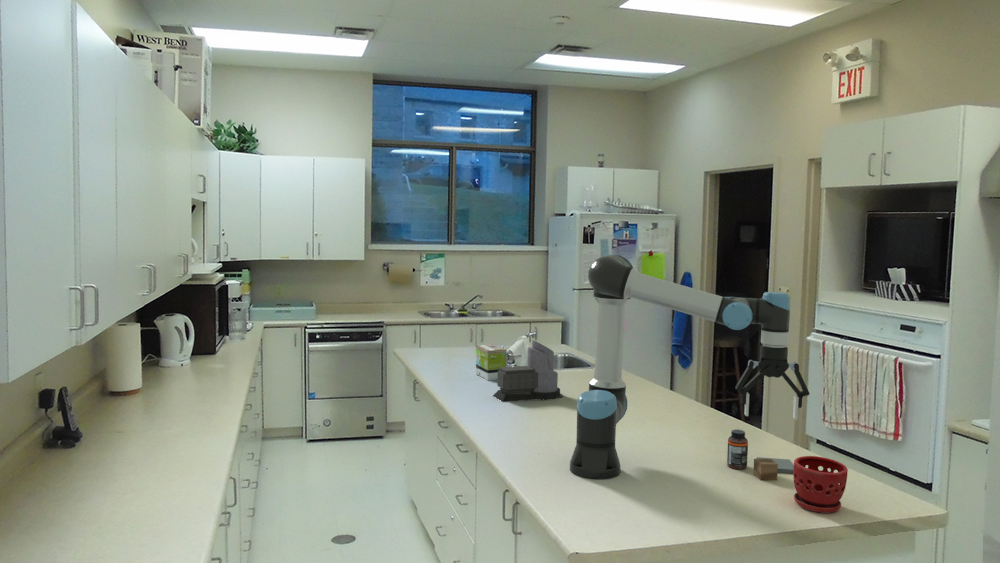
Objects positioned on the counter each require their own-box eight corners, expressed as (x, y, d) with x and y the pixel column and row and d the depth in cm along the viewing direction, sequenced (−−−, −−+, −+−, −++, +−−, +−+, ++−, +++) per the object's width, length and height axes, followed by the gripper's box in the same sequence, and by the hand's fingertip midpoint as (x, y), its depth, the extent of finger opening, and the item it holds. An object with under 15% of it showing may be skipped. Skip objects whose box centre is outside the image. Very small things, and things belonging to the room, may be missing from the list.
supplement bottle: (731, 462, 229) (732, 427, 228) (749, 466, 225) (751, 430, 224) (723, 467, 224) (725, 431, 224) (742, 471, 221) (744, 435, 220)
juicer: (553, 390, 325) (554, 336, 323) (569, 398, 310) (570, 341, 309) (490, 394, 314) (491, 339, 312) (504, 403, 300) (505, 345, 298)
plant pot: (783, 506, 193) (785, 462, 192) (804, 494, 203) (806, 452, 202) (833, 521, 184) (836, 475, 183) (852, 507, 193) (855, 463, 192)
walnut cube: (777, 480, 213) (777, 463, 213) (760, 480, 213) (761, 464, 213) (769, 474, 218) (770, 458, 218) (753, 474, 218) (754, 458, 218)
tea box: (475, 374, 356) (475, 344, 354) (493, 373, 360) (494, 343, 359) (487, 380, 342) (487, 349, 341) (506, 379, 346) (507, 348, 345)
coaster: (796, 473, 219) (796, 469, 219) (761, 471, 221) (762, 467, 221) (789, 463, 229) (789, 459, 229) (756, 460, 231) (756, 457, 231)
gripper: (816, 345, 212) (812, 416, 214) (728, 341, 217) (725, 410, 219) (822, 349, 205) (818, 423, 207) (731, 345, 210) (727, 416, 212)
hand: (770, 416), depth 213 cm, fingers open, 13 cm apart
